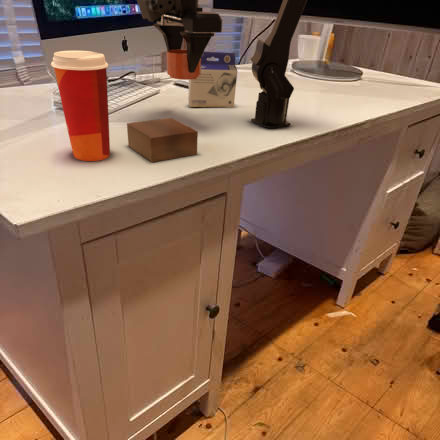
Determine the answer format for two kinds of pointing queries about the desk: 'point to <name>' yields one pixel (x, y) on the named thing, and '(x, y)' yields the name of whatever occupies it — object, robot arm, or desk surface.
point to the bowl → (180, 65)
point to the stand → (162, 139)
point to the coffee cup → (84, 102)
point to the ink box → (214, 81)
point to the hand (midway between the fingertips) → (182, 69)
